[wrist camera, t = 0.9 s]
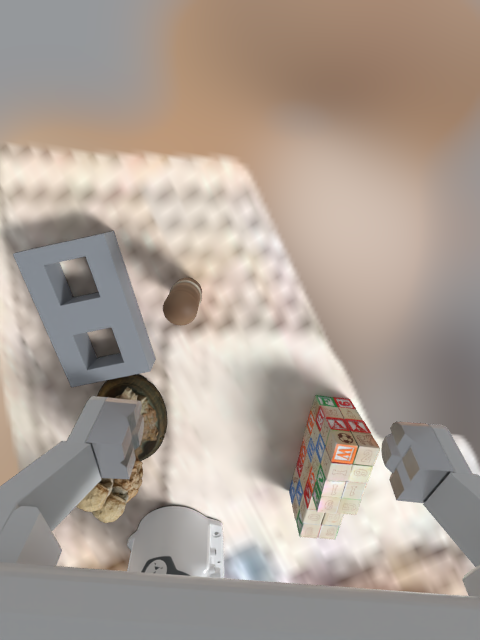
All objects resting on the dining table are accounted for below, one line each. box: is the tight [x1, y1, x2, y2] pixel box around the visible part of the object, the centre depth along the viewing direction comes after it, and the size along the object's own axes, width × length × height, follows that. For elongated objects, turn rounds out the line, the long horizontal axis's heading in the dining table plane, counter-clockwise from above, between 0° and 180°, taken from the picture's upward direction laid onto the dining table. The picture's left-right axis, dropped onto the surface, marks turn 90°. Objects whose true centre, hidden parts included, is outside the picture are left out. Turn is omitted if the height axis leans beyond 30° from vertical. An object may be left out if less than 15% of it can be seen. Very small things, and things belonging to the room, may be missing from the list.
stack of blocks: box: [289, 395, 380, 539], centre depth 54 cm, size 21×6×12 cm, turn 171°
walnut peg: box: [163, 278, 202, 325], centre depth 44 cm, size 4×4×10 cm
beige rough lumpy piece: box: [76, 374, 167, 523], centre depth 49 cm, size 18×12×17 cm, turn 0°
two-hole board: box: [13, 231, 156, 387], centre depth 48 cm, size 20×12×4 cm, turn 12°
